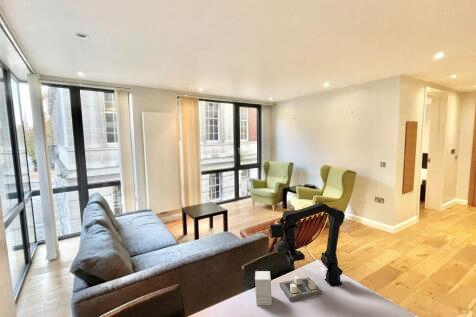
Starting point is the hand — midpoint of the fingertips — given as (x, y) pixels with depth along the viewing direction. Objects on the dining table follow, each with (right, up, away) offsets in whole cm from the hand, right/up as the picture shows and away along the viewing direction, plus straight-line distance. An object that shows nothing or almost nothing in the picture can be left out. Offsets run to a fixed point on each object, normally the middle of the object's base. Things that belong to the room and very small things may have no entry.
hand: (290, 265), depth 119 cm
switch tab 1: (0, -10, -7) cm, 12 cm away
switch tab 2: (+3, -9, 0) cm, 10 cm away
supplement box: (-15, -13, -9) cm, 22 cm away
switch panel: (+4, -11, -3) cm, 12 cm away
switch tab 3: (+9, -9, -5) cm, 14 cm away
